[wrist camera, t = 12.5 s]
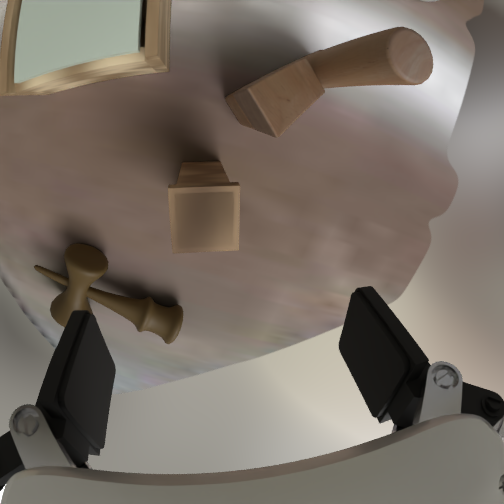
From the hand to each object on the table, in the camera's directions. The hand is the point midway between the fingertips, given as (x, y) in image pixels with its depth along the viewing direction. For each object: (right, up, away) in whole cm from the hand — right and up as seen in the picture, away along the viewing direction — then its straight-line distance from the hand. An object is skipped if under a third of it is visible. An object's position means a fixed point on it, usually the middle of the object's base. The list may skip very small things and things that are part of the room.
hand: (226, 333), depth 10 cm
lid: (-13, +26, +1) cm, 29 cm away
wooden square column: (-4, +10, +21) cm, 24 cm away
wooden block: (+3, +20, +17) cm, 27 cm away
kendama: (-17, -1, +25) cm, 30 cm away
